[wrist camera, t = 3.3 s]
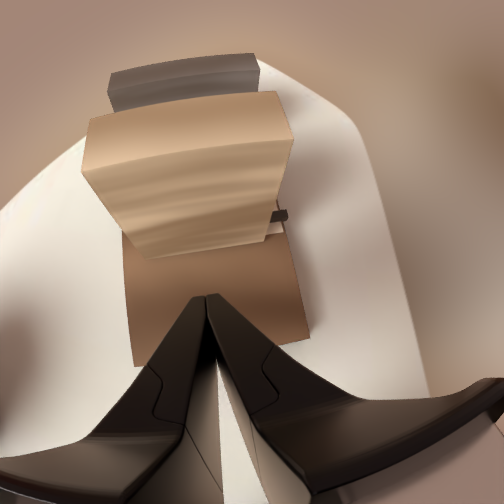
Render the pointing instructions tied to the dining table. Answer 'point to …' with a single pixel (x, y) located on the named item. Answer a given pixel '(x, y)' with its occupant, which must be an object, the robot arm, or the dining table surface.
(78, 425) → the dining table surface
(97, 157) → the pad
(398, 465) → the robot arm
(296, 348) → the dining table surface
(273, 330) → the gauge track
